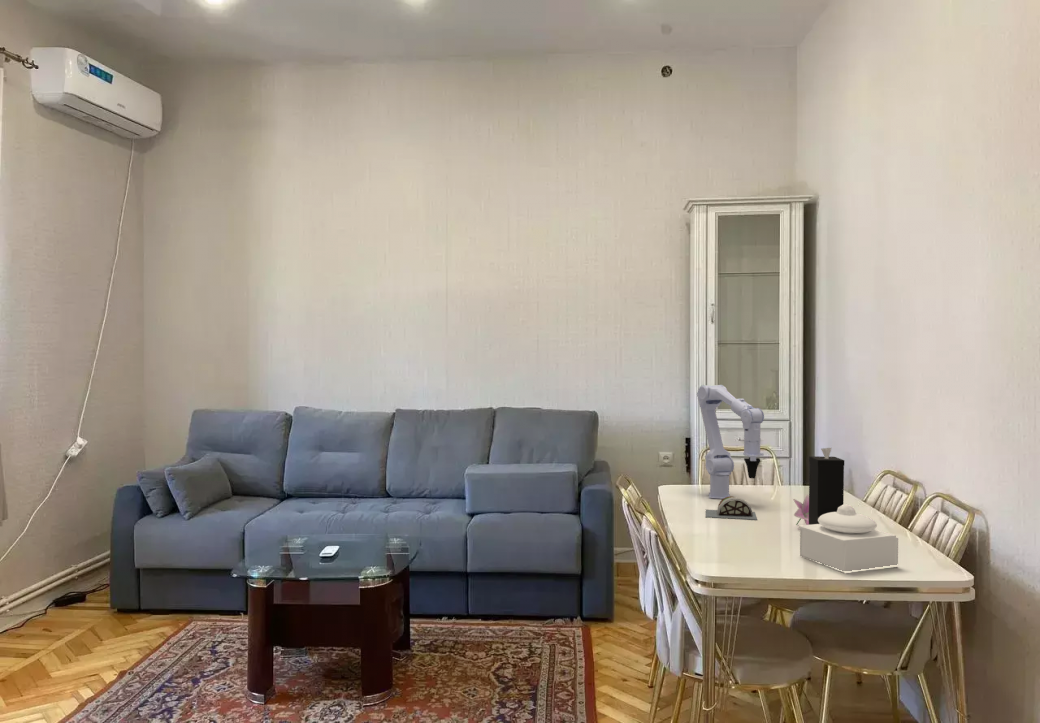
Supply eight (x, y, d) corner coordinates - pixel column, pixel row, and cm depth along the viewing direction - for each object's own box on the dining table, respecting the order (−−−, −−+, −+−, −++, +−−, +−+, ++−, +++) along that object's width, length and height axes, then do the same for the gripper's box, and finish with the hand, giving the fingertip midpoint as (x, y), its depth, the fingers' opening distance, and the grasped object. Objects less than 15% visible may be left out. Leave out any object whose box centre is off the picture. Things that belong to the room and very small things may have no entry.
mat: (705, 510, 277) (705, 509, 277) (754, 512, 273) (754, 511, 273) (705, 517, 266) (705, 516, 266) (757, 520, 262) (757, 519, 262)
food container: (748, 493, 275) (754, 498, 265) (748, 510, 276) (753, 516, 266) (713, 492, 277) (717, 497, 267) (713, 509, 277) (717, 515, 267)
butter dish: (897, 568, 206) (898, 509, 206) (843, 574, 200) (844, 513, 200) (849, 551, 222) (850, 496, 222) (798, 557, 217) (798, 500, 216)
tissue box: (808, 535, 241) (809, 445, 240) (833, 535, 240) (834, 446, 240) (817, 541, 233) (818, 449, 232) (843, 542, 233) (844, 449, 232)
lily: (787, 533, 248) (801, 509, 244) (777, 511, 259) (790, 489, 255) (821, 544, 249) (835, 520, 246) (809, 522, 260) (823, 499, 256)
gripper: (765, 443, 276) (764, 481, 276) (762, 439, 290) (761, 475, 290) (744, 443, 278) (744, 480, 278) (742, 438, 292) (742, 474, 292)
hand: (751, 478), depth 284 cm, fingers closed
